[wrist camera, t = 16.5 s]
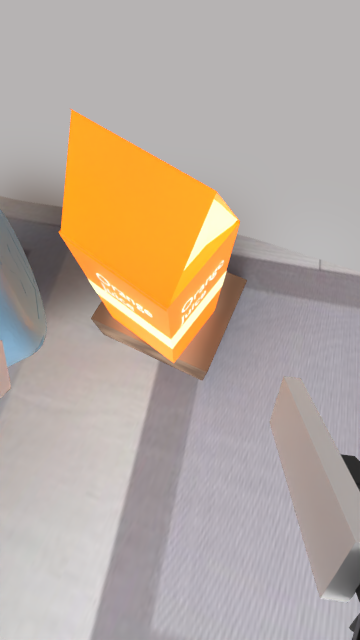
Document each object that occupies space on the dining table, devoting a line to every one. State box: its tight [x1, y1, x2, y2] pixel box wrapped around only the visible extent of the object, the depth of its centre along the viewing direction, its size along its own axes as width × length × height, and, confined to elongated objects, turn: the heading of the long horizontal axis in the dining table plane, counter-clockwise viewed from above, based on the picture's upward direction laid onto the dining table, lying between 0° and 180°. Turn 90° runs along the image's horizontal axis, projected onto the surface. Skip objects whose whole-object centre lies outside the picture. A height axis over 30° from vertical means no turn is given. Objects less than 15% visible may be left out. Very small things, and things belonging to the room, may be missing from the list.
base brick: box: [91, 272, 247, 380], centre depth 35 cm, size 14×12×6 cm
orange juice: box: [59, 110, 240, 363], centre depth 22 cm, size 8×9×20 cm
